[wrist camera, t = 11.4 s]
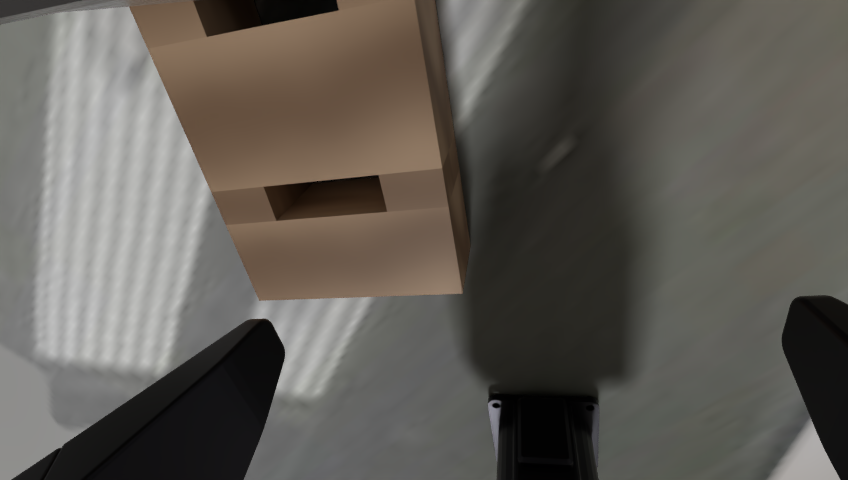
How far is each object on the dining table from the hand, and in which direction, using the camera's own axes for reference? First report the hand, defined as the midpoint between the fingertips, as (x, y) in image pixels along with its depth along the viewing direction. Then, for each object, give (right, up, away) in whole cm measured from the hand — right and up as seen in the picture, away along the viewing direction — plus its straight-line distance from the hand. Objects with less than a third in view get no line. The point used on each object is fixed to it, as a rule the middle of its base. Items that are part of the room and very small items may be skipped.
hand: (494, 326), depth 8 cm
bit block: (-5, +10, +11) cm, 16 cm away
